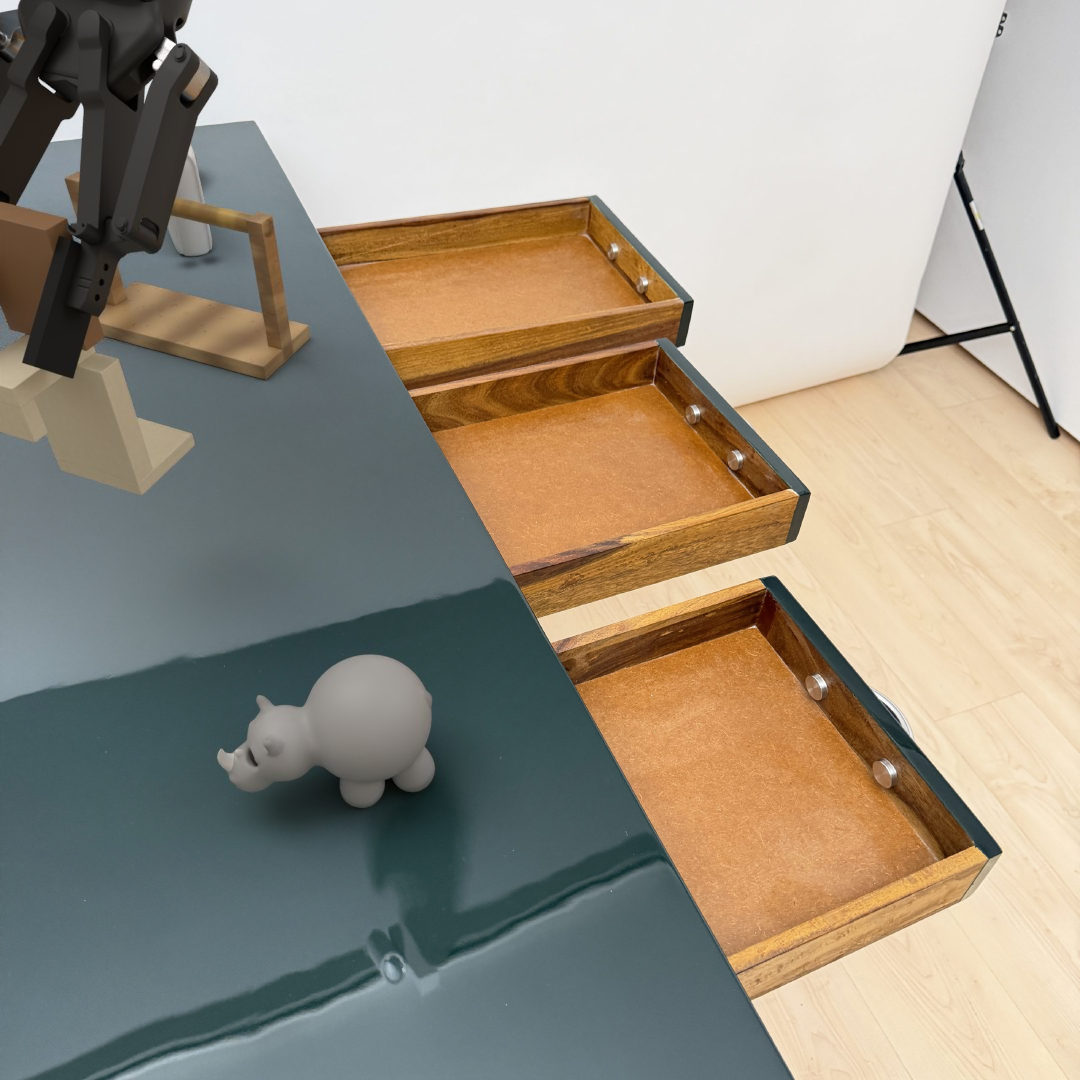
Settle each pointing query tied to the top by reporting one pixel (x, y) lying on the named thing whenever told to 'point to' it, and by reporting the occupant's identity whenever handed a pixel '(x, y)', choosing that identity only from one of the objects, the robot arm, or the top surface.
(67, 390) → the beige and brown blocks
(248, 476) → the top surface
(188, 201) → the stand
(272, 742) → the round bodied animal figurine
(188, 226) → the white rounded oblong piece
